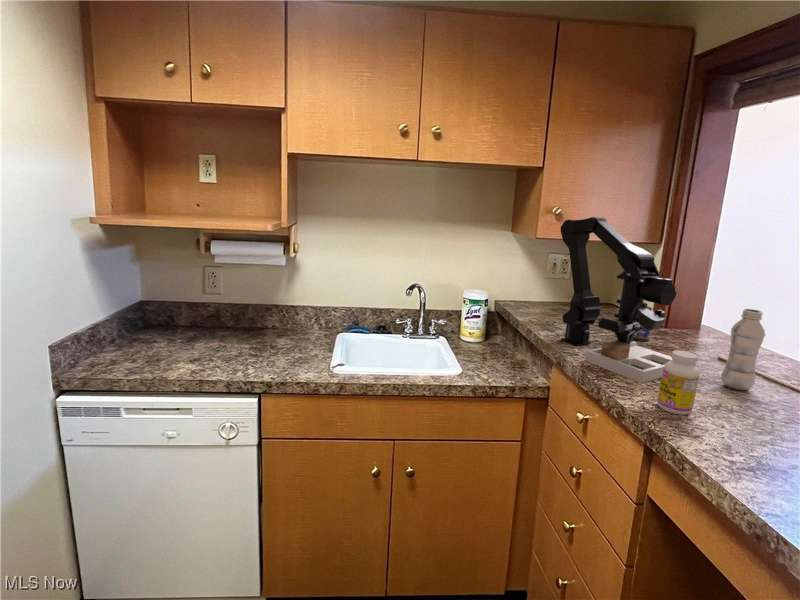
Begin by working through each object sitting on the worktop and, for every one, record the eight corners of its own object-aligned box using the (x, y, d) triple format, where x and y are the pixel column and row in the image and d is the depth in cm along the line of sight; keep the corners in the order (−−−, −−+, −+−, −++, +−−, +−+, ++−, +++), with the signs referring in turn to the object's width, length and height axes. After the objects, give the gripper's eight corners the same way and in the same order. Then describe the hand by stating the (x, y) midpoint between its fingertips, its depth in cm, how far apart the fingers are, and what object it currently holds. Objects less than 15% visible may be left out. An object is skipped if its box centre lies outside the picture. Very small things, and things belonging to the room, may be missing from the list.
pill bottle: (651, 342, 146) (657, 310, 143) (631, 340, 147) (637, 308, 144) (645, 337, 152) (651, 305, 149) (626, 335, 153) (631, 304, 150)
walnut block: (600, 354, 125) (603, 341, 124) (611, 352, 128) (614, 339, 127) (617, 360, 121) (619, 346, 120) (628, 358, 123) (630, 344, 123)
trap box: (584, 360, 126) (586, 350, 125) (632, 350, 137) (634, 341, 136) (641, 383, 112) (643, 371, 111) (689, 369, 122) (692, 359, 122)
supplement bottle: (650, 401, 101) (660, 348, 98) (677, 402, 102) (688, 348, 99) (669, 416, 94) (681, 359, 92) (698, 416, 95) (711, 359, 92)
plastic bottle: (754, 396, 107) (773, 315, 102) (719, 388, 110) (737, 310, 106) (750, 387, 112) (768, 310, 108) (718, 380, 116) (734, 306, 111)
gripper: (639, 306, 111) (630, 365, 115) (681, 300, 121) (670, 355, 124) (600, 297, 121) (593, 351, 124) (641, 292, 130) (633, 343, 134)
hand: (623, 350), depth 126 cm, fingers closed
